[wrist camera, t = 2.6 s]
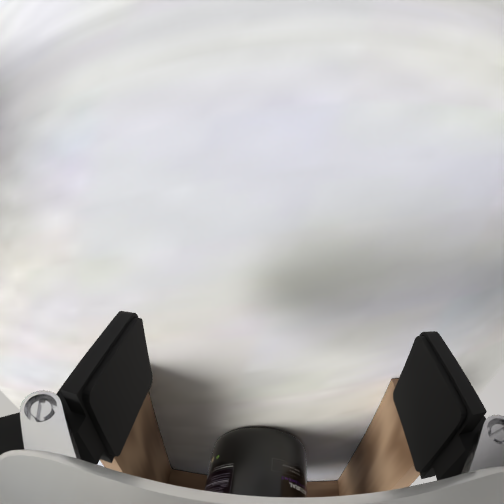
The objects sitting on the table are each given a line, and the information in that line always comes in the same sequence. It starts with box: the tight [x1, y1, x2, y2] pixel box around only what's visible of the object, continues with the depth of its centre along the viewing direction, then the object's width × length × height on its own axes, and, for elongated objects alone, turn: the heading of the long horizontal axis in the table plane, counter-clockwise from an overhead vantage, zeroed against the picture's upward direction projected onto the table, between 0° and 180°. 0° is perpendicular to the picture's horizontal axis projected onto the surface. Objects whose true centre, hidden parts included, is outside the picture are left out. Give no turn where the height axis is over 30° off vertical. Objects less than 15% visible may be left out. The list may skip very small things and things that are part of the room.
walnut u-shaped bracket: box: [100, 378, 420, 498], centre depth 17 cm, size 15×17×6 cm
